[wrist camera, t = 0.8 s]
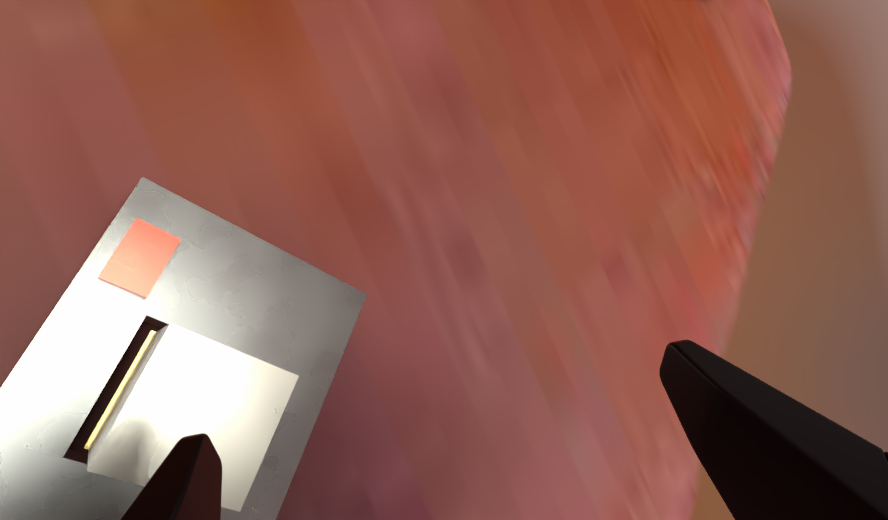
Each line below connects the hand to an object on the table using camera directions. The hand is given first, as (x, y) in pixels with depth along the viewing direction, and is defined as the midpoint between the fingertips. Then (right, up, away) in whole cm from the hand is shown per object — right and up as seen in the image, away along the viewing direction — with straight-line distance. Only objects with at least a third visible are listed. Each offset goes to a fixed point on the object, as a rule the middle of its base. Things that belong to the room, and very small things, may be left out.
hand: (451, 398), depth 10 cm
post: (-11, -3, +11) cm, 16 cm away
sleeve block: (-11, -3, +11) cm, 16 cm away
